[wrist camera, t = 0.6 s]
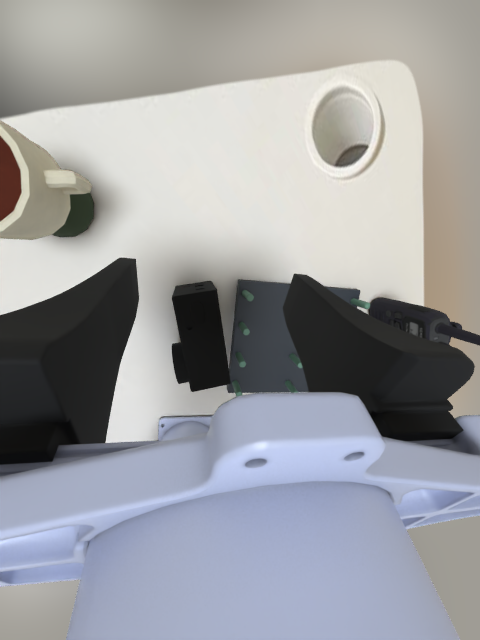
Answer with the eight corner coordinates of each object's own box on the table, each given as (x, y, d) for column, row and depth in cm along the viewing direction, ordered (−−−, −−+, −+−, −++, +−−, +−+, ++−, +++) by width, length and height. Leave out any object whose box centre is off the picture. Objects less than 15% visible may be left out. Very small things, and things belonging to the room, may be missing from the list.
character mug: (113, 165, 26) (49, 95, 14) (125, 239, 28) (78, 233, 16) (-9, 166, 25) (-204, 85, 12) (13, 244, 27) (-136, 242, 14)
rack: (334, 388, 39) (350, 403, 35) (226, 389, 36) (231, 405, 32) (356, 289, 35) (376, 294, 32) (237, 279, 32) (244, 283, 28)
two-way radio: (366, 298, 36) (481, 331, 22) (394, 290, 37) (525, 318, 22) (368, 335, 38) (477, 387, 24) (395, 327, 38) (518, 373, 24)
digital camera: (164, 286, 31) (158, 297, 24) (210, 279, 31) (216, 288, 25) (181, 366, 34) (179, 395, 27) (222, 358, 34) (231, 384, 28)
